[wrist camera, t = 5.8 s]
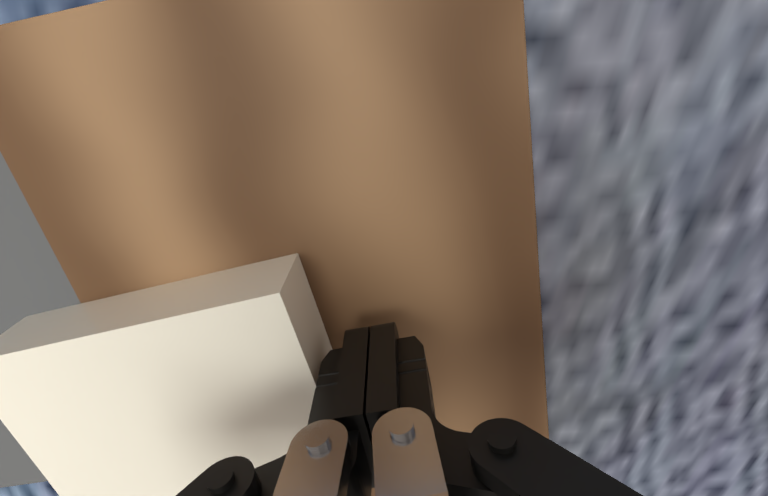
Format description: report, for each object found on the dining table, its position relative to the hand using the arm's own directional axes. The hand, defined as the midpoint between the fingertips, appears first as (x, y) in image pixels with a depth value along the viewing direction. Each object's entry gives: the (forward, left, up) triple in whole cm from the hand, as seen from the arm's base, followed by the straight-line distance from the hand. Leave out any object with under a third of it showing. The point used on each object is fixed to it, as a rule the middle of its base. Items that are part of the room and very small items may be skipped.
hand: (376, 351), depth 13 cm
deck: (+2, 0, -5) cm, 5 cm away
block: (+6, 0, -1) cm, 6 cm away
